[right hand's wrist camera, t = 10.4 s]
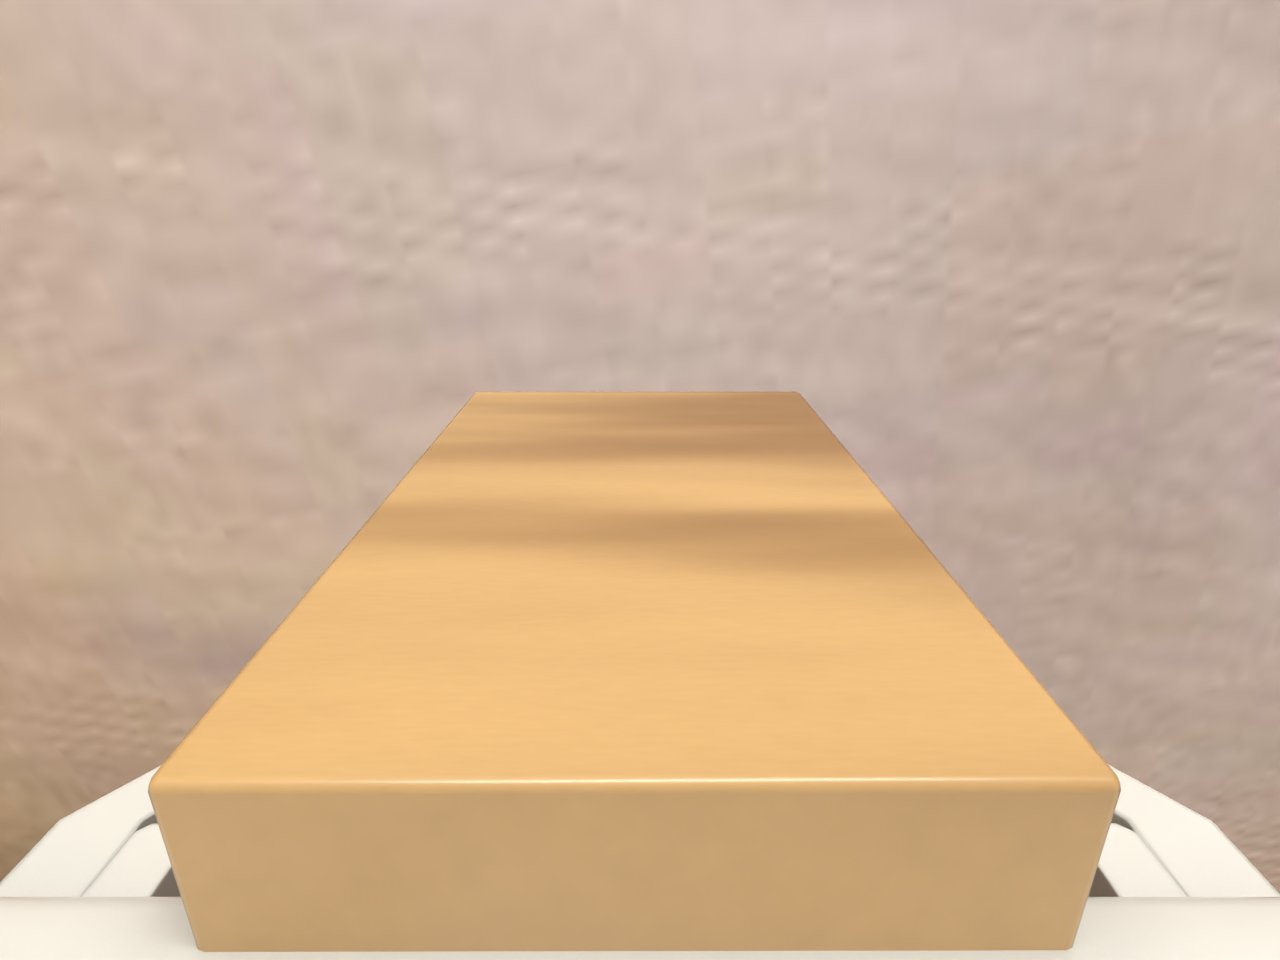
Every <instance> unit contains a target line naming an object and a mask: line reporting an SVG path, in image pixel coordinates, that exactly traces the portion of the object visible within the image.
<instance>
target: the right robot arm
mask: <svg viewBox="0 0 1280 960" xmlns="http://www.w3.org/2000/svg"><path fill="white" fill-rule="evenodd" d="M1109 766H1110V765H1109ZM160 767H161V766H159V767H157V768H155V769H153V770H151V771H150V772H148V773H146V774H144V775H142V776H140V777H138V778H137V779H135V780H133V781H131V782H129V783H127V784H125V785H124V786H122V787H120V788H118V789H116V790H114V791H112V792H111V793H109V794H107V795H105V796H103V797H101V798H99V799H97V800H96V801H94V802H92V803H90V804H88V805H86V806H84V807H83V808H81V809H79V810H77V811H75V812H73V813H71V814H70V815H68V816H66V817H64V818H62V819H60V820H59V821H58V822H57V823H56V824H55V825H54V826H53V827H52V828H51V829H50V830H49V832H48V833H47V834H46V835H45V836H44V837H43V838H42V839H41V840H40V841H39V842H38V843H37V844H36V845H35V846H34V847H33V848H32V849H31V851H30V852H29V853H28V854H27V855H26V856H25V857H24V858H23V859H22V860H21V861H20V862H19V863H18V864H17V865H16V866H15V867H14V868H13V869H12V871H11V872H10V873H9V874H8V875H7V876H6V877H5V878H4V879H3V880H2V881H1V882H0V960H1280V894H1279V893H1278V892H1277V890H1276V889H1275V888H1274V887H1273V886H1272V885H1271V884H1270V883H1269V882H1268V881H1267V880H1266V879H1265V877H1264V876H1263V875H1262V874H1261V873H1260V872H1259V871H1258V870H1257V869H1256V868H1255V867H1254V866H1253V865H1252V863H1251V862H1250V861H1249V860H1248V859H1247V858H1246V857H1245V856H1244V855H1243V854H1242V853H1241V852H1240V851H1239V849H1238V848H1237V847H1236V846H1235V845H1234V844H1233V843H1232V842H1231V841H1230V840H1229V839H1228V838H1227V836H1226V835H1225V834H1224V833H1223V832H1222V831H1221V830H1220V829H1219V828H1218V827H1217V826H1216V825H1215V824H1214V822H1213V821H1211V820H1209V819H1207V818H1206V817H1204V816H1202V815H1200V814H1198V813H1196V812H1195V811H1193V810H1191V809H1189V808H1187V807H1185V806H1184V805H1182V804H1180V803H1178V802H1176V801H1174V800H1173V799H1171V798H1169V797H1167V796H1165V795H1163V794H1162V793H1160V792H1158V791H1156V790H1154V789H1152V788H1151V787H1149V786H1147V785H1145V784H1143V783H1141V782H1140V781H1138V780H1136V779H1134V778H1132V777H1130V776H1129V775H1127V774H1125V773H1123V772H1121V771H1119V770H1117V769H1116V768H1114V767H1112V766H1110V768H1111V769H1112V770H1113V771H1114V772H1115V774H1116V775H1117V776H1118V779H1119V782H1120V786H1121V792H1120V795H1119V799H1118V802H1117V805H1116V808H1115V812H1114V815H1113V818H1112V821H1111V825H1110V828H1109V831H1108V834H1107V837H1106V841H1105V844H1104V847H1103V850H1102V854H1101V857H1100V860H1099V863H1098V867H1097V870H1096V873H1095V876H1094V879H1093V883H1092V886H1091V889H1090V892H1089V896H1088V899H1087V902H1086V905H1085V909H1084V912H1083V915H1082V918H1081V921H1080V925H1079V928H1078V931H1077V934H1076V938H1075V941H1074V944H1073V947H1072V948H1070V949H1068V950H970V951H430V952H203V951H201V950H199V949H197V946H196V943H195V939H194V936H193V933H192V930H191V927H190V924H189V920H188V917H187V914H186V911H185V908H184V905H183V902H182V898H181V895H180V892H179V889H178V886H177V883H176V879H175V876H174V873H173V870H172V867H171V864H170V860H169V857H168V854H167V851H166V848H165V845H164V841H163V838H162V835H161V832H160V829H159V826H158V822H157V819H156V816H155V813H154V810H153V807H152V804H151V800H150V797H149V794H148V787H149V783H150V780H151V777H152V776H153V775H154V774H155V773H156V771H157V770H158V769H159V768H160Z"/></svg>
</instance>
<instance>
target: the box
mask: <svg viewBox="0 0 1280 960" xmlns="http://www.w3.org/2000/svg"><path fill="white" fill-rule="evenodd" d="M1120 792H1121V786H1120V782H1119V779H1118V776H1117V775H1116V774H1115V772H1114V771H1113V770H1112V769H1111V768H1110V766H1109V765H1108V764H1107V763H1106V762H1105V760H1104V759H1103V758H1102V757H1101V756H1100V754H1099V753H1098V752H1097V751H1096V750H1095V748H1094V747H1093V746H1092V745H1091V743H1090V742H1089V741H1088V740H1087V739H1086V737H1085V736H1084V735H1083V734H1082V733H1081V731H1080V730H1079V729H1078V728H1077V727H1076V725H1075V724H1074V723H1073V722H1072V721H1071V719H1070V718H1069V717H1068V716H1067V715H1066V713H1065V712H1064V711H1063V710H1062V709H1061V707H1060V706H1059V705H1058V704H1057V703H1056V701H1055V700H1054V699H1053V698H1052V697H1051V695H1050V694H1049V693H1048V692H1047V691H1046V689H1045V688H1044V687H1043V686H1042V684H1041V683H1040V682H1039V681H1038V680H1037V678H1036V677H1035V676H1034V675H1033V674H1032V672H1031V671H1030V670H1029V669H1028V668H1027V666H1026V665H1025V664H1024V663H1023V662H1022V660H1021V659H1020V658H1019V657H1018V656H1017V654H1016V653H1015V652H1014V651H1013V650H1012V648H1011V647H1010V646H1009V645H1008V644H1007V642H1006V641H1005V640H1004V639H1003V638H1002V636H1001V635H1000V634H999V633H998V632H997V630H996V629H995V628H994V627H993V625H992V624H991V623H990V622H989V621H988V619H987V618H986V617H985V616H984V615H983V613H982V612H981V611H980V610H979V609H978V607H977V606H976V605H975V604H974V603H973V601H972V600H971V599H970V598H969V597H968V595H967V594H966V593H965V592H964V591H963V589H962V588H961V587H960V586H959V585H958V583H957V582H956V581H955V580H954V579H953V577H952V576H951V575H950V574H949V573H948V571H947V570H946V569H945V568H944V566H943V565H942V564H941V563H940V562H939V560H938V559H937V558H936V557H935V556H934V554H933V553H932V552H931V551H930V550H929V548H928V547H927V546H926V545H925V544H924V542H923V541H922V540H921V539H920V538H919V536H918V535H917V534H916V533H915V532H914V530H913V529H912V528H911V527H910V526H909V524H908V523H907V522H906V521H905V520H904V518H903V517H902V516H901V515H900V514H899V512H898V511H897V510H896V509H895V507H894V506H893V505H892V504H891V503H890V501H889V500H888V499H887V498H886V497H885V495H884V494H883V493H882V492H881V491H880V489H879V488H878V487H877V486H876V485H875V483H874V482H873V481H872V480H871V479H870V477H869V476H868V475H867V474H866V473H865V471H864V470H863V469H862V468H861V467H860V465H859V464H858V463H857V462H856V461H855V459H854V458H853V457H852V456H851V455H850V453H849V452H848V451H847V450H846V448H845V447H844V446H843V445H842V444H841V442H840V441H839V440H838V439H837V438H836V436H835V435H834V434H833V433H832V432H831V430H830V429H829V428H828V427H827V426H826V424H825V423H824V422H823V421H822V420H821V418H820V417H819V416H818V415H817V414H816V412H815V411H814V410H813V409H812V408H811V406H810V405H809V404H808V403H807V402H806V400H805V399H804V398H803V397H802V396H801V394H800V393H798V392H477V393H475V394H474V395H473V396H472V397H471V398H470V400H469V401H468V402H467V403H466V404H465V405H464V407H463V408H462V409H461V410H460V411H459V413H458V414H457V415H456V416H455V417H454V419H453V420H452V421H451V422H450V423H449V424H448V426H447V427H446V428H445V429H444V430H443V432H442V433H441V434H440V435H439V436H438V438H437V439H436V440H435V441H434V442H433V444H432V445H431V446H430V447H429V448H428V449H427V451H426V452H425V453H424V454H423V455H422V457H421V458H420V459H419V460H418V461H417V463H416V464H415V465H414V466H413V467H412V468H411V470H410V471H409V472H408V473H407V474H406V476H405V477H404V478H403V479H402V480H401V482H400V483H399V484H398V485H397V486H396V487H395V489H394V490H393V491H392V492H391V493H390V495H389V496H388V497H387V498H386V499H385V501H384V502H383V503H382V504H381V505H380V506H379V508H378V509H377V510H376V511H375V512H374V514H373V515H372V516H371V517H370V518H369V520H368V521H367V522H366V523H365V524H364V525H363V527H362V528H361V529H360V530H359V531H358V533H357V534H356V535H355V536H354V537H353V539H352V540H351V541H350V542H349V543H348V544H347V546H346V547H345V548H344V549H343V550H342V552H341V553H340V554H339V555H338V556H337V558H336V559H335V560H334V561H333V562H332V563H331V565H330V566H329V567H328V568H327V569H326V571H325V572H324V573H323V574H322V575H321V577H320V578H319V579H318V580H317V581H316V583H315V584H314V585H313V586H312V587H311V588H310V590H309V591H308V592H307V593H306V594H305V596H304V597H303V598H302V599H301V600H300V602H299V603H298V604H297V605H296V606H295V607H294V609H293V610H292V611H291V612H290V613H289V615H288V616H287V617H286V618H285V619H284V621H283V622H282V623H281V624H280V625H279V626H278V628H277V629H276V630H275V631H274V632H273V634H272V635H271V636H270V637H269V638H268V640H267V641H266V642H265V643H264V644H263V645H262V647H261V648H260V649H259V650H258V651H257V653H256V654H255V655H254V656H253V657H252V659H251V660H250V661H249V662H248V663H247V664H246V666H245V667H244V668H243V669H242V670H241V672H240V673H239V674H238V675H237V676H236V678H235V679H234V680H233V681H232V682H231V683H230V685H229V686H228V687H227V688H226V689H225V691H224V692H223V693H222V694H221V695H220V697H219V698H218V699H217V700H216V701H215V702H214V704H213V705H212V706H211V707H210V708H209V710H208V711H207V712H206V713H205V714H204V716H203V717H202V718H201V719H200V720H199V721H198V723H197V724H196V725H195V726H194V727H193V729H192V730H191V731H190V732H189V733H188V735H187V736H186V737H185V738H184V739H183V741H182V742H181V743H180V744H179V745H178V746H177V748H176V749H175V750H174V751H173V752H172V754H171V755H170V756H169V757H168V758H167V760H166V761H165V762H164V763H163V764H162V765H161V767H160V768H159V769H158V770H157V771H156V773H155V774H154V775H153V776H152V777H151V780H150V783H149V787H148V794H149V797H150V800H151V804H152V807H153V810H154V813H155V816H156V819H157V822H158V826H159V829H160V832H161V835H162V838H163V841H164V845H165V848H166V851H167V854H168V857H169V860H170V864H171V867H172V870H173V873H174V876H175V879H176V883H177V886H178V889H179V892H180V895H181V898H182V902H183V905H184V908H185V911H186V914H187V917H188V920H189V924H190V927H191V930H192V933H193V936H194V939H195V943H196V946H197V949H199V950H201V951H203V952H430V951H970V950H1068V949H1070V948H1072V947H1073V944H1074V941H1075V938H1076V934H1077V931H1078V928H1079V925H1080V921H1081V918H1082V915H1083V912H1084V909H1085V905H1086V902H1087V899H1088V896H1089V892H1090V889H1091V886H1092V883H1093V879H1094V876H1095V873H1096V870H1097V867H1098V863H1099V860H1100V857H1101V854H1102V850H1103V847H1104V844H1105V841H1106V837H1107V834H1108V831H1109V828H1110V825H1111V821H1112V818H1113V815H1114V812H1115V808H1116V805H1117V802H1118V799H1119V795H1120Z"/></svg>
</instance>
